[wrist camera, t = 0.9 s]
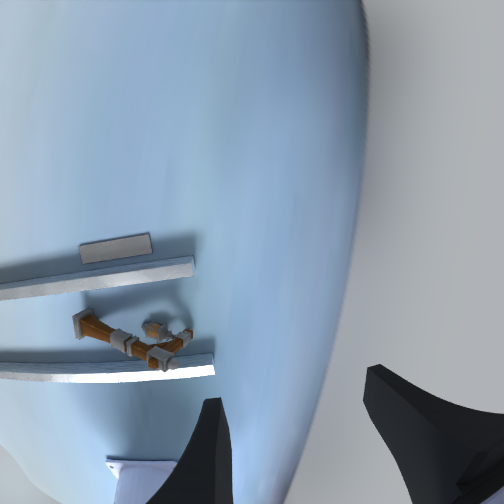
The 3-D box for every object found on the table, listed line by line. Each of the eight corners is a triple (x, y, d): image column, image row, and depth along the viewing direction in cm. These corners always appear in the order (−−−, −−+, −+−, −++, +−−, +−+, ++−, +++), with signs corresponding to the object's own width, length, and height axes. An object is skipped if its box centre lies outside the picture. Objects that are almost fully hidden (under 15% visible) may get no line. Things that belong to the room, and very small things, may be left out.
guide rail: (214, 361, 21) (214, 383, 19) (-28, 366, 19) (-40, 379, 17) (188, 227, 18) (184, 237, 16) (-65, 275, 16) (-80, 285, 14)
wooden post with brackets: (204, 349, 20) (171, 385, 16) (113, 316, 22) (73, 339, 18) (205, 326, 20) (170, 361, 15) (111, 295, 22) (70, 317, 17)
